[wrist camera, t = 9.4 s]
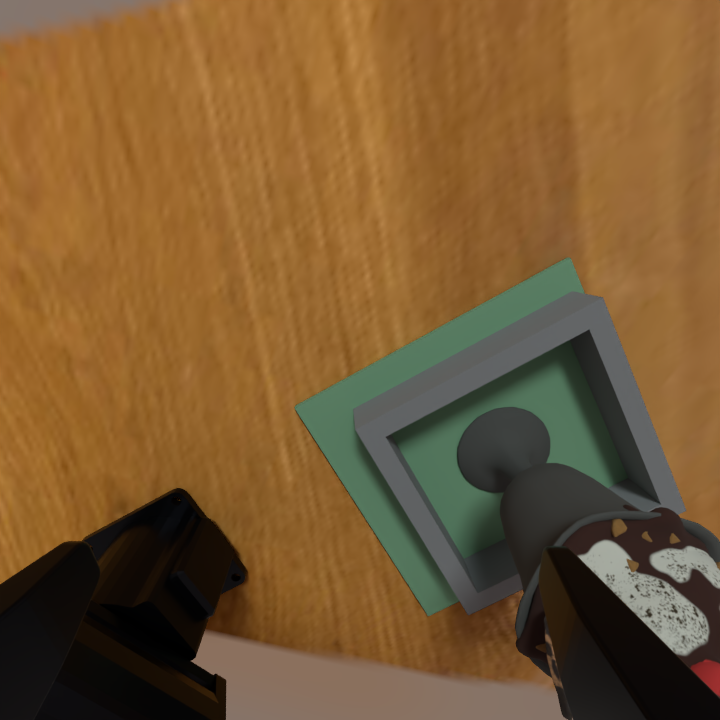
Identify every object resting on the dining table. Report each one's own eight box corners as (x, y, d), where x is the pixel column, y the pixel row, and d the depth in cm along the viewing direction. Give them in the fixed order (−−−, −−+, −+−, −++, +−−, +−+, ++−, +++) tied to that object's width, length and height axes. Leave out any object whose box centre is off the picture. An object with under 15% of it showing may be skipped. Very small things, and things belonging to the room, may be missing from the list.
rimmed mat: (427, 612, 26) (437, 655, 23) (295, 405, 22) (289, 428, 19) (663, 497, 25) (704, 528, 22) (567, 257, 21) (601, 260, 18)
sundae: (587, 408, 22) (1036, 716, 8) (534, 517, 24) (829, 935, 10) (469, 373, 22) (734, 648, 7) (423, 488, 23) (564, 900, 9)
